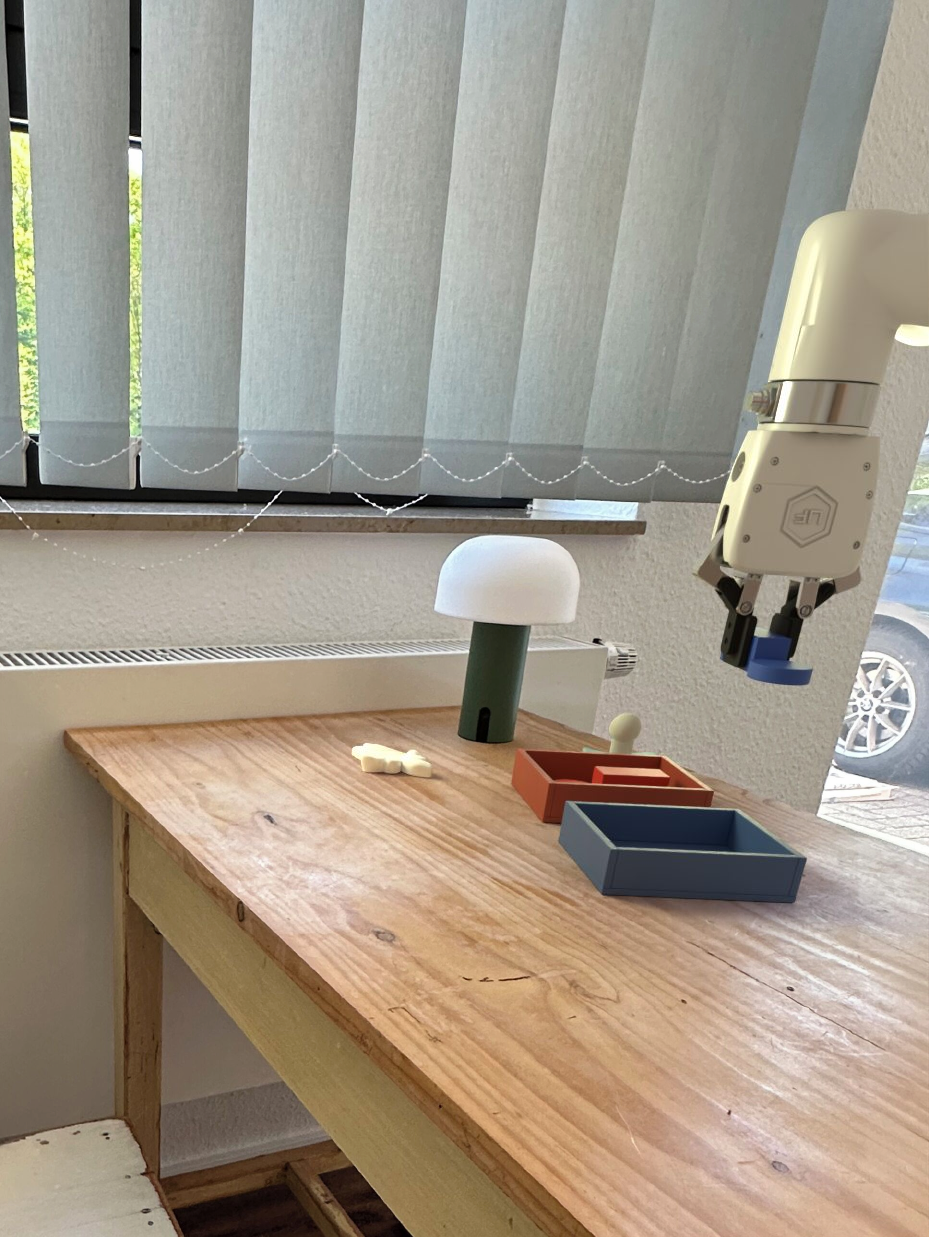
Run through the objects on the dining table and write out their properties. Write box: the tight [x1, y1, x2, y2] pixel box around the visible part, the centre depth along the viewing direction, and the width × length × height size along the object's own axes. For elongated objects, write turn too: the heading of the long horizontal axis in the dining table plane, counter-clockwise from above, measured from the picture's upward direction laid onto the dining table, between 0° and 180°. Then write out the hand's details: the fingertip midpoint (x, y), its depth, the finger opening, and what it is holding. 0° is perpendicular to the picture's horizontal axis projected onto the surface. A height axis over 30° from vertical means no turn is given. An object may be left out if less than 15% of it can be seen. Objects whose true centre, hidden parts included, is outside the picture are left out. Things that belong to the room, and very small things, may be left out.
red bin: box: [510, 748, 715, 824], centre depth 96 cm, size 14×11×4 cm
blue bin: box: [557, 801, 808, 904], centre depth 82 cm, size 14×11×4 cm
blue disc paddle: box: [719, 626, 814, 687], centre depth 84 cm, size 10×4×3 cm, turn 179°
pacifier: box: [582, 712, 660, 756], centre depth 107 cm, size 7×6×6 cm
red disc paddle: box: [553, 766, 670, 787], centre depth 96 cm, size 10×4×3 cm, turn 90°
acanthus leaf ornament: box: [351, 742, 434, 779], centre depth 105 cm, size 8×7×2 cm
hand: (754, 663), depth 86 cm, fingers closed on blue disc paddle, 2 cm apart
